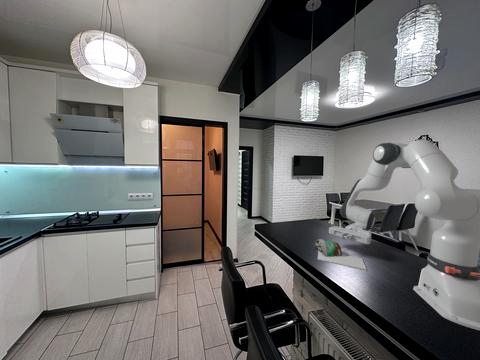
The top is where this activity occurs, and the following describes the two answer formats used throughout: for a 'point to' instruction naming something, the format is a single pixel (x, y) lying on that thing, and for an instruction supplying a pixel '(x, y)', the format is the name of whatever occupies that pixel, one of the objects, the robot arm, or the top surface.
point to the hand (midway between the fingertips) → (343, 237)
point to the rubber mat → (343, 260)
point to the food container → (328, 248)
